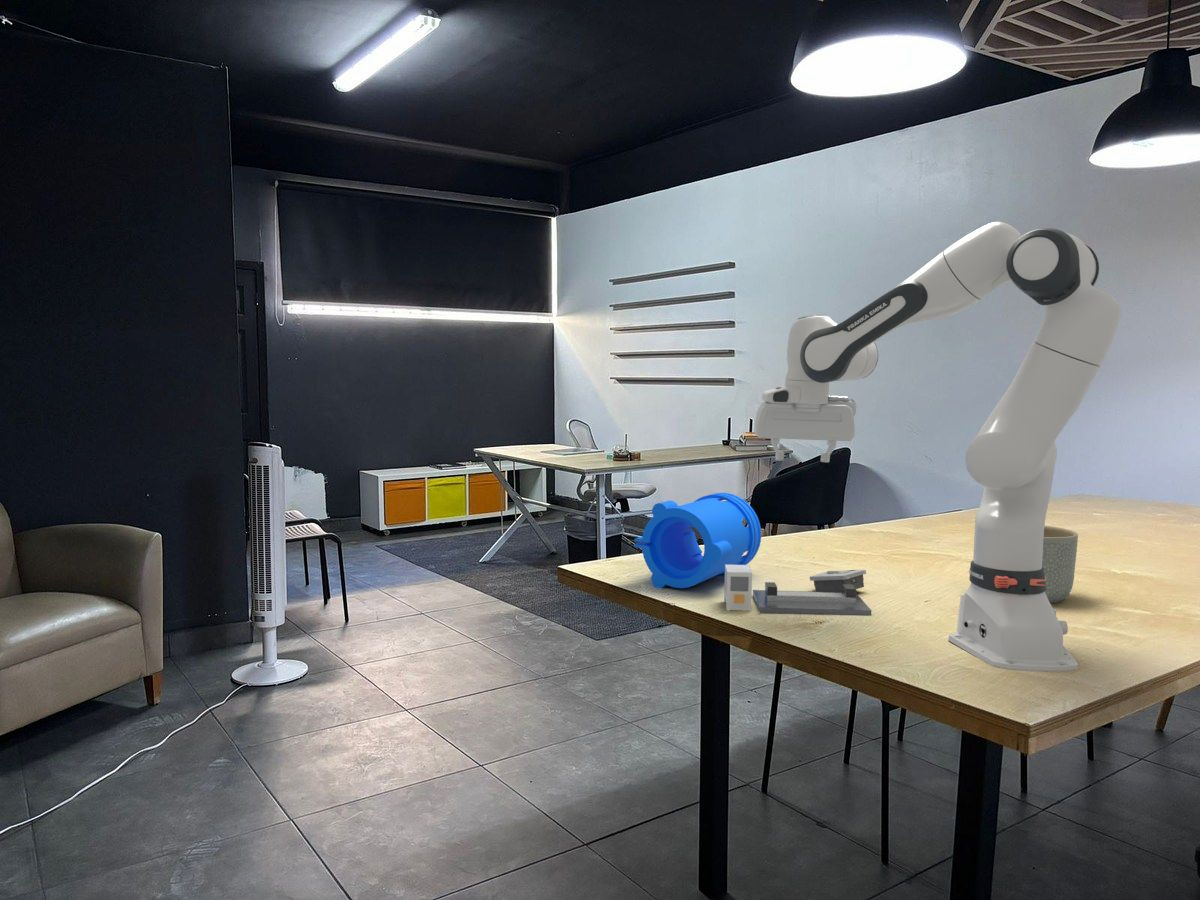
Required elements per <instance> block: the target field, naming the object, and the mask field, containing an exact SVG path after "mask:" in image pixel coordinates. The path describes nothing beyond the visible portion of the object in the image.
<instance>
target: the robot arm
mask: <svg viewBox="0 0 1200 900" xmlns="http://www.w3.org/2000/svg"><path fill="white" fill-rule="evenodd" d="M1099 273H1100V262H1099V259H1098V257H1097V255H1096V253H1095V251H1094V250H1093V249H1092V248H1091V247H1090V246H1088V245H1087V244H1085V242H1083V241H1082V240H1081V238H1079V237H1077V236H1075V235H1073V234H1071V233H1069V232H1065V231H1062V230H1061V229H1058V228H1053V227H1044V228H1037V229H1034V230H1031V231H1028V232H1026V233H1024V234H1023V235H1022V234H1021V233H1020V231H1018V229H1016V228H1015V227H1014V226H1012V225H1010V224H1009V223H1006V222H1003V221H992V222H990V223H987V224H984V225H982V226H981V227H980V228H977V229H976V230H974V231H972V232H970V233H968V234H966V235H964V237H962V238H960V239H959V240H957V241H955V242H954V243H952V244H951V245H949V246H948V247H947V248H945V249H944V250H942V251H941V252H940V253H939V254H937V255H936V256H935V257H933V258H932V259H931V260H929V261H928V262H927V263H926V264H924V265H923V266H922V267H920V268H919V269H918V270H917V271H915V272H914V273H913V274H911V275H910V276H909V277H907V278H906V279H905V280H903V281H902V282H900V283H899V284H897V285H896V286H895V287H894V288H893V289H890V290H889V291H887V292H886V293H884V294H882V295H881V296H879V297H878V298H877V299H875V300H873V301H872V302H871V303H869V304H868V305H866V306H864V307H863V308H861V309H860V310H859V311H857V312H856V313H854V314H852V315H850V316H849V317H848V318H847V319H845V320H844V321H841V322H840V323H838V322H835V321H834V320H833V319H832V318H831V317H830V316H828V315H826V314H815V315H813V314H812V315H811V314H810V315H805V316H801V317H799V318H797V319H795V320H794V321H793V322H792V324H791V327H790V329H789V333H788V339H787V340H788V341H787V349H786V362H787V373H786V375H785V381H784V385H782V386H777V387H774V388H772V389H767V390H764V391H763V392H762V395H761V397H762V398H761V399H762V400H763V401H764V402H762V403H761V404H760V405H759V406H758V408H757V411H756V415H755V422H754V431H753V432H754V434H755V436H756V437H758V438H759V439H770V444H771V447H773V450H774V451H775V457H774V458H775V459H774V460H775V461H780V462H781V461H785V457H784V456H785V452H784V451H780V448H779V445H780V440H781V439H782V440H807V441H810V440H811V441H826V444H827V446H828V447H827V449H826V450H825V452H821V453H820V462H821V463H830V459H831V454H832V453H833V451H834V450H835V449H836V448H837V442H851V441H852V440H853V439H854V438H855V432H856V431H855V418H854V417H855V416H856V413H857V402H856V401H855V399H853V398H851V397H850V396H849V395H847V396H845V395H843V396H839V395H829V393H830V392H829V390H830V383H832V382H846V381H849V382H851V381H859V380H863V379H865V378H867V377H868V376H869V375H871V374H872V373H873V371H874V370H875V368H876V367H877V365H878V361H879V351H878V348H877V347H878V346H877V345H876V342H877V341H878V340H880V339H882V338H883V337H885V336H886V335H888V334H889V333H891V332H893V331H894V330H896V329H899V328H900V327H903V326H905V325H908V324H912V323H918V322H924V321H931V320H941V319H946V318H950V317H953V316H954V315H956V314H959V313H960V312H962V311H964V310H967V309H968V308H970V307H972V306H973V305H975V304H976V303H978V302H979V301H981V300H983V299H984V298H985V297H987V296H988V295H989V294H991V293H992V292H993V291H995V290H997V289H998V288H999V287H1003V286H1004V285H1006V284H1011V283H1013V284H1014V285H1015V287H1017V288H1018V290H1020V291H1021V292H1022V293H1024V294H1026V295H1027V296H1028V297H1029V298H1031V299H1032V300H1034V301H1035V302H1036V303H1037V304H1039V305H1040V306H1043V307H1044V318H1043V321H1042V323H1041V325H1040V327H1039V330H1037V333H1036V335H1035V337H1034V339H1033V341H1032V342H1031V345H1030V347H1029V349H1028V351H1027V352H1026V355H1025V356H1024V359H1022V362H1021V365H1020V366H1019V368H1018V370H1017V372H1016V374H1015V376H1014V378H1013V380H1012V381H1011V383H1010V385H1009V386H1008V388H1007V389H1006V391H1005V392H1004V394H1003V396H1001V398H1000V399H999V401H998V402H997V404H996V405H995V406H994V408H993V409H992V411H991V412H990V414H989V416H987V419H986V421H985V422H984V424H983V425H982V427H981V428H980V430H979V431H978V434H976V436H975V437H974V438H973V440H972V441H971V442H970V443H969V445H968V447H967V449H966V452H965V467H966V470H967V472H968V474H969V476H970V477H971V478H972V479H973V480H974V481H975V482H976V483H978V484H980V485H981V486H983V493H982V496H981V500H980V504H979V506H978V507H979V508H978V510H977V512H976V516H975V519H974V533H973V534H974V538H973V539H974V540H973V556H972V557H973V558H972V559H973V560H971V561H970V566H969V569H968V570H969V571H968V573H969V582H970V585H969V586H968V588H967V589H966V590H965V591H964V592H963V593H962V594H961V596H960V599H959V600H960V601H959V610H958V616H957V625H956V631H955V632H952V633H949V635H948V638H947V639H948V641H949V642H951V643H952V644H954V645H955V646H957V647H958V648H961V649H962V650H964V651H965V652H968V653H969V654H971V655H973V656H974V657H976V658H978V659H979V660H981V661H982V662H984V663H986V664H988V665H990V666H991V667H995V668H1001V669H1008V670H1015V671H1016V670H1018V671H1028V672H1029V671H1030V672H1063V671H1064V672H1065V671H1066V672H1068V671H1074V670H1078V669H1079V663H1078V662H1077V660H1076V659H1075V658H1074V657H1073V655H1072V653H1070V652H1069V651H1068V649H1067V648H1066V646H1064V635H1067V634H1068V629H1069V628H1068V623H1067V621H1066V620H1059V618H1058V616H1057V610H1056V608H1053V606H1052V604H1050V602H1049V600H1048V598H1047V596H1046V593H1045V591H1046V590H1047V588H1046V576H1045V572H1044V568H1043V567H1042V557H1043V541H1044V526H1046V525H1045V523H1046V517H1047V512H1048V508H1049V504H1050V502H1049V501H1050V497H1051V492H1052V486H1053V480H1054V471H1055V466H1056V461H1057V457H1058V450H1057V445H1056V442H1055V441H1056V439H1057V438H1058V436H1059V435H1060V433H1061V432H1062V431H1063V430H1064V428H1065V426H1066V424H1067V423H1068V422H1069V421H1070V419H1071V418H1072V417H1073V416H1074V414H1075V413H1076V412H1077V410H1078V409H1079V408H1080V405H1081V404H1082V401H1083V400H1084V398H1085V397H1086V395H1087V393H1088V391H1089V389H1090V386H1091V385H1092V383H1093V381H1094V379H1095V378H1096V376H1097V375H1098V372H1099V371H1100V368H1101V366H1102V364H1103V363H1104V360H1105V359H1106V357H1107V355H1108V353H1109V350H1110V348H1111V346H1112V343H1113V341H1114V338H1115V335H1116V333H1117V329H1118V327H1119V322H1120V320H1121V316H1122V315H1121V314H1122V309H1121V305H1120V304H1119V302H1118V301H1117V300H1116V299H1115V298H1114V297H1113V295H1111V294H1109V293H1107V292H1106V291H1103V290H1102V289H1098V288H1097V287H1095V284H1096V282H1097V280H1098V278H1099Z"/></svg>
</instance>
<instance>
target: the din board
mask: <svg viewBox="0 0 1200 900" xmlns="http://www.w3.org/2000/svg"><path fill="white" fill-rule="evenodd" d="M764 584H765V585H764V587H765V588H764V590H763V589H752V597H753V600H754V602H755V605H756V607H757V609H758V611H759V612H760V613H759V612H758V613H759V614H780V615H781V614H786V615H787V614H791V615H835V616H836V615H838V616H839V615H841V616H842V615H843V616H872V610H871V608H870V607H869V606H868V605H867V603H865V601H864V600H863V599H862V598H861V597H860V596H859V594H857V589H856V588H855V587H854V586H853V585H852V584H842V592H816V591H810V590H809V591H801V590H778V586H777V584H776V582H773V581H772V582H771V581H769V582H768V581H767V582H766V581H765V582H764Z"/></svg>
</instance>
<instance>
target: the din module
mask: <svg viewBox="0 0 1200 900" xmlns="http://www.w3.org/2000/svg"><path fill="white" fill-rule="evenodd" d="M723 587H724V588H723V589H724V590H723V591H724V592H723V593H724V596H723V602H726V604H725V610H726V609H727V610H726V611H730V610H751V611H752V597H753V572H752V570H751V568H750V565H749V564H747V565H725V574H724V586H723ZM728 609H729V610H728Z"/></svg>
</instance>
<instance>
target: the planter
mask: <svg viewBox="0 0 1200 900" xmlns="http://www.w3.org/2000/svg"><path fill="white" fill-rule="evenodd" d="M1078 536H1079V534H1078V532H1076V531H1074V530H1072V529H1068V528H1064V527H1057V526H1051V525H1045V526H1044V541H1043V557H1042V567H1043V568H1044V572H1045V576H1046V588H1047V590H1046V591H1045V593H1046V596H1047V598H1048V600H1049V602H1050V604H1051V603H1053V604H1057V603H1060V602H1061V601H1063V600H1065V599H1066V598H1067V597H1068V596H1069V595H1070V593H1071V592H1072V590H1073V586H1074V580H1075V573H1076V571H1075V569H1076V561H1077V552H1078V541H1079V537H1078ZM1051 605H1052V604H1051Z"/></svg>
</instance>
